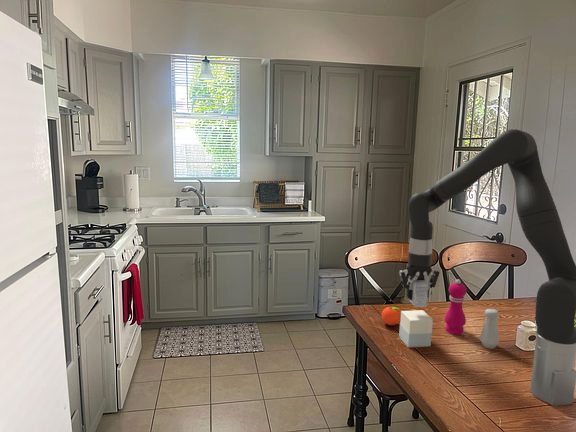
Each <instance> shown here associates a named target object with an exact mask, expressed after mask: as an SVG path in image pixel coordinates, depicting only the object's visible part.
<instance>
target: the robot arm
mask: <svg viewBox="0 0 576 432" xmlns="http://www.w3.org/2000/svg"><path fill="white" fill-rule="evenodd" d="M539 156H540V155H539V151H538V145H537V143H536V138H534V136H533V135H532V134H531V133H528V132H526V131H523V130H520V129H517V128H515V129H513V128H512V129H507V130H505V131H503V132H501V133H500V134H498V135H497V137H495V138H494V139H492V141H491V142H490V143H488V145H486V146H485V147H484V148H483V149H482V150H480V151H479V152H478V153H477V154H475V155H474V156H473V157H472V158H470V159H469V160H468V161H466V162H465V163H464V164H462V165H460V166H459V167H457V168H455V170H453V171H451V172H449V173H448V174H446V175H445V176H443V177H442V178H440V179H439V180H437V181H436V182H434V185H433V186H431V187H430V188H428V189H427V190H425V191H423V192H418V193H414V194H413V195H412V196H411V197H410V198H409V201H408V206H407V207H408V208H407V209H408V214H409V215H408V216H409V221H410V235H409V236H410V237H409V238H410V239H409V243H408V244H409V245H408V260H407V268H406V269H400V270H398V275H399V281H400V285H401V286H402V287H403V289H406V298H407V299H408V301H409V300H412V294H413V290H412V288H413V284H414V282H415V281H417V280H425V281H426V282H427V283H428V296H427V299H429V297H430V289H431V288H435V287H436V285H437V281H438V278H439V277H440V276H439V275H440V271H439V270H438V269H436V268H432V261H433V260H432V257H433V231H434V226H433V222H432V221H430V219H429V218H430V214H429V213H431V212H433V211H435V210H437V209H439V208H440V207H441V206H443V205H444V204H445V203H446V202H448V201H449V200H452V199H453V198H455V197H457V196H458V195H460V194H462V193H463V192H465V191H467V190H468V189H469V188H470V187H472V186H473V185H474V184H476V182H477V181H478V180H479V179H481V178H483V177H484V176H485V175H487V174H488V173H489V172H492V171H493V170H496V169H497V168H499V167H501V166H504V165H506V164H507V165H508V168H509V170H510V173H511V176H512V177H513V181H514V184H515V205H516V206H515V208H516V214H517V216H518V220H519V224H520V226H521V229H522V233H523V234H524V236H525V238H526V240H527V241H528V243H529V244H530V245H531V246H532V248H533V249H534V250H535V252H536V253H537V254H538V256H539V257H540V258H541V259H542V263H543V264H544V265H543V266H544V267H545V270H546V273H547V278H548V281H545V282H543V283H542V284H541V285H540V286H539V288H538V290H537V293H536V298H535V299H536V301H535V304H536V305H535V316H534V317H535V318H534V319H535V325H536V336H535V345H534V354H533V362H532V369H531V370H532V371H531V378H530V379H531V380H530V388H529V389H530V392H531V394H532V395H534V397H536V398H537V399H539V400H541V401H543V402H545V403H548V404H550V405H551V406H563V405H564V406H565V405H573V404H574V397H575V391H576V390H575V389H576V369H575V364H576V327H575V320H576V319H575V318H576V263H575V261H574V258H573V255H572V253H571V249H570V246H569V243H568V240H567V237H566V234H565V231H564V227H563V224H562V221H561V218H560V214H559V212H558V209H557V206H556V204H555V201H554V199H553V196H552V193H551V191H550V188H549V186H548V183H547V181H546V179H545V176H544V173H543V170H542V166H541V161H540V157H539ZM407 275H408V276H407ZM429 276H430V278H429ZM407 277H408V278H407ZM412 279H413V280H412Z"/></svg>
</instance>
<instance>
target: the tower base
mask: <svg viewBox="0 0 576 432" xmlns="http://www.w3.org/2000/svg"><path fill="white" fill-rule="evenodd" d="M398 332H399V333H398V335H399V336H398V337H399V338H400V339H401V341H402V342H403V343H404V345H406V347H407V348H420V347H422V348H423V347H431V345H432V333H428V334H409V333H408V332H407V331H406V330H405V329H404V328H403V327H402V326H401V324H400V323H399V331H398Z"/></svg>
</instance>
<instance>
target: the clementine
mask: <svg viewBox="0 0 576 432" xmlns="http://www.w3.org/2000/svg"><path fill="white" fill-rule="evenodd" d="M399 310H400V311H401V309H400V308H398V307H395V306H387V307H385V308H384V309H383V310H382V312H381V320H382V321H383V323H384V324H386V325H387V326H395V325H397V324H398V323H399V322H400V321H401V312H400V311H399Z"/></svg>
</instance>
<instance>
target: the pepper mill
mask: <svg viewBox="0 0 576 432" xmlns="http://www.w3.org/2000/svg"><path fill="white" fill-rule="evenodd" d="M448 294H449V298H448V299H449V301H450V304H449V307H448V310H447V311H446V313H445V316H444V322H445V325H444V327H445V328H444V330H445V331H446V332H447V333H448V334H451V335H453V336H454V335H456V336H457V335H458V336H459V335H463V334H464V330H465V328H464V326H465V325H466V324H467V323H466V315H465V312H464V310H463V303H464V302H465V297H464V296H465V295H466V294H467V288H466V286H465V285H464V284H463V283H461V279H455V282H454V283H451V284H450V285H449V287H448Z"/></svg>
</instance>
